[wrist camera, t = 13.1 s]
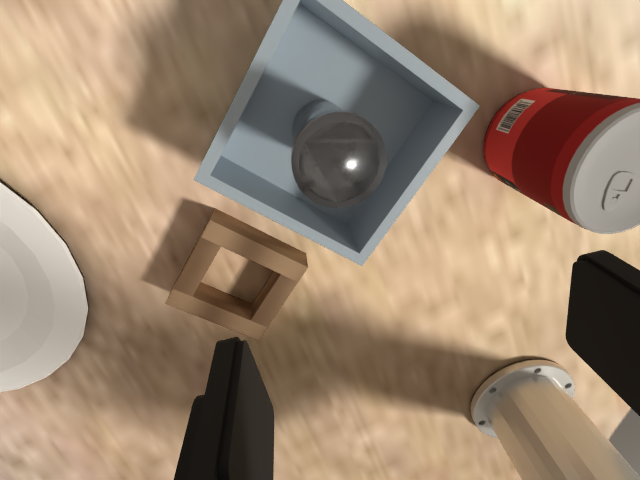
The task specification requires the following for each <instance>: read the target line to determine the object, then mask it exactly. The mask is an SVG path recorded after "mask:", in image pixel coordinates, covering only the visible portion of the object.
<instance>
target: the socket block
mask: <svg viewBox="0 0 640 480" xmlns="http://www.w3.org/2000/svg"><path fill="white" fill-rule="evenodd" d="M220 247H224V248H226V249H228V250H230V251H232V252H234V253H236V254H239V255H241V256H243V257H245V258H247V259H249V260H251V261H254V262H256V263H258V264H260V265H262V266H264V267H267V268H269V269H271V270H273V273H272V274H271V276H270V278H269V279H268V281H267V282H266V284H265V285H264V287H263V288H262V290H261V292H260V293H259V295H258V296H257V298H256V299H255V301H254V302H253V304H250V303H248V302H246V301H243V300H241V299H238V298H236V297H234V296H231V295H229V294H227V293H224V292H222V291H220V290H217V289H215V288H213V287H210V286H208V285H205V284H203V283H201V280H202V279H203V277H204V275H205V273H206V272H207V270H208V268H209V266H210V265H211V263H212V261H213V259H214V257H215V256H216V254H217V252H218V250H219V249H220ZM307 268H308V264H307V257H306V253H304V252H302V251H300V250H298V249H296V248H294V247H292V246H290V245H288V244H286V243H284V242H282V241H280V240H278V239H275V238H273V237H271V236H269V235H267V234H265V233H263V232H261V231H259V230H257V229H255V228H253V227H251V226H249V225H247V224H245V223H243V222H241V221H239V220H237V219H235V218H233V217H231V216H229V215H227V214H225V213H223V212H221V211H219V210H217V209H214V211H213V213H212V215H211V217H210V219H209V221H208V222H207V224H206V226H205V228H204V230H203V232H202V234H201V235H200V237H199V239H198V241H197V243H196V245H195V247H194V249H193V250H192V252H191V254H190V256H189V258H188V260H187V262H186V263H185V265H184V267H183V269H182V271H181V273H180V275H179V276H178V278H177V280H176V282H175V284H174V286H173V288H172V290H171V292H170V294H169V297H168V299H167V301H166V303H165V304H168V305H170V306H173V307H175V308H178V309H180V310H183V311H186V312H188V313H191V314H193V315H196V316H198V317H201V318H203V319H206V320H208V321H211V322H213V323H216V324H219V325H221V326H224V327H226V328H229V329H231V330H234V331H236V332H239V333H241V334H244V335H246V336H249V337H252V338H254V339H257V340H259V339H260V337H261V336H262V334H263V333H264V332H265V330H266V329H267V327H268V326H269V324H270V323H271V321H272V320H273V318H274V317H275V315H276V314H277V312H278V311H279V309H280V308H281V306H282V305H283V304H284V302H285V301H286V299H287V298H288V296H289V295H290V293H291V292H292V290H293V289H294V287H295V286H296V284H297V283H298V281H299V280H300V278H301V277H302V275H303V274H304V273H305V271H306V270H307Z"/></svg>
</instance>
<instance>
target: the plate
mask: <svg viewBox="0 0 640 480" xmlns="http://www.w3.org/2000/svg"><path fill="white" fill-rule="evenodd" d="M88 310H89V305H88V299H87V293H86V287H85V282H84V276H83V274H82V272H81V270H80V268H79V266H78V264H77V262H76V260H75V259H74V257H73V255H72V253H71V251H70V249H69V247H68V245H67V243H66V242H65V241H64V239H63V238H62V237H61V236H60V235H59V234H58V232H57V231H56V230H55V229H54V228H53V227H52V225H51V224H50V223H49V222H48V221H47V220H46V218H45V217H44V216H43V215H42V214H41V213H40V211H39V210H38V209H36V208H35V207H34V206H33V205H31V204H30V203H29V202H27V201H26V200H25V199H23V198H22V197H21V196H20V195H18V194H17V193H16V192H14V191H13V190H12V189H11V188H9V187H8V186H7V185H5V184H4V183H3V182H2V181H0V392H5V391H10V390H16V389H20V388H22V387H25V386H27V385H29V384H32V383H34V382H36V381H39V380H41V379H43V378H46V377H48V376H49V375H50V374H51V373H53V372H54V371H55V370H56V369H58V368H59V367H60V366H61V365H63V364H64V363H65V362H66V361H68V360H69V359H70V357H71V355H72V354H73V352H74V351H75V349H76V347H77V346H78V344H79V342H80V341H81V339H82V338H83V336H84V332H85V327H86V321H87V316H88Z"/></svg>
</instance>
